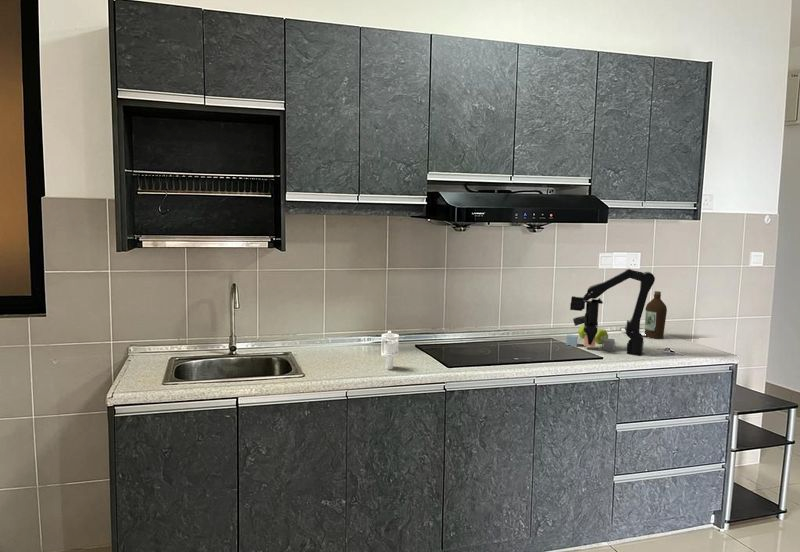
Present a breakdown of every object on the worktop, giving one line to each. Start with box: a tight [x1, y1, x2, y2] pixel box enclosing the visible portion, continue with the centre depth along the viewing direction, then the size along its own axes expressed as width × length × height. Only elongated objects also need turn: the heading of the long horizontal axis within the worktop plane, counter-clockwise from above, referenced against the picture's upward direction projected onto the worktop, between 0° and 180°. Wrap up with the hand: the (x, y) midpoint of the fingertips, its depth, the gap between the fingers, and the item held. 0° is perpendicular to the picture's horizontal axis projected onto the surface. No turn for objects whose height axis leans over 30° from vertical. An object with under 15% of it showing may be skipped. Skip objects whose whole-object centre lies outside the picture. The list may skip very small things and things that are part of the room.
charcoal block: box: [602, 337, 615, 352], centre depth 292 cm, size 5×5×5 cm
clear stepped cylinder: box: [380, 330, 400, 370], centre depth 246 cm, size 7×7×15 cm
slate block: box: [565, 333, 579, 348], centre depth 298 cm, size 5×5×5 cm
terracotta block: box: [583, 334, 596, 348], centre depth 291 cm, size 5×5×5 cm
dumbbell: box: [577, 324, 609, 345], centre depth 311 cm, size 16×8×7 cm, turn 20°
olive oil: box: [644, 290, 668, 340], centre depth 322 cm, size 11×11×25 cm
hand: (589, 343), depth 292 cm, fingers closed on terracotta block, 5 cm apart
